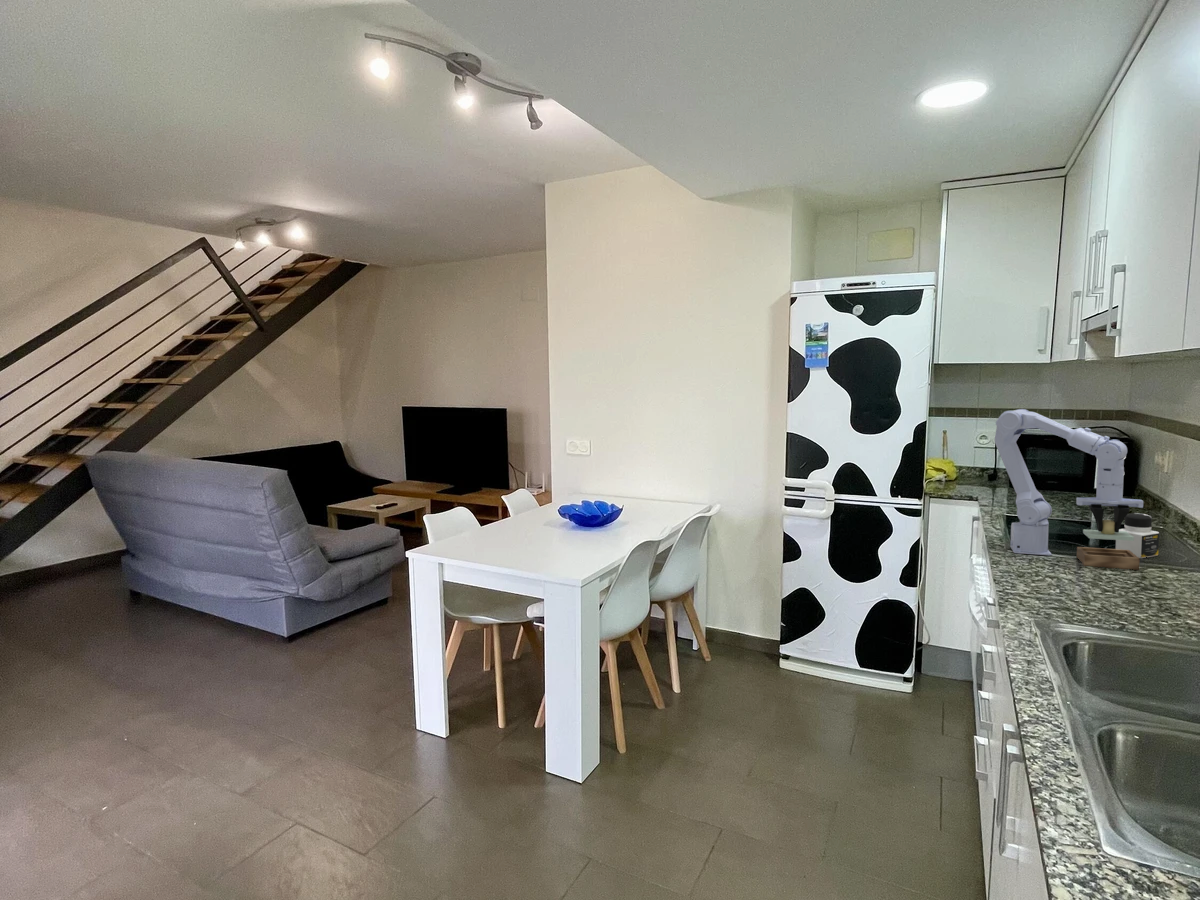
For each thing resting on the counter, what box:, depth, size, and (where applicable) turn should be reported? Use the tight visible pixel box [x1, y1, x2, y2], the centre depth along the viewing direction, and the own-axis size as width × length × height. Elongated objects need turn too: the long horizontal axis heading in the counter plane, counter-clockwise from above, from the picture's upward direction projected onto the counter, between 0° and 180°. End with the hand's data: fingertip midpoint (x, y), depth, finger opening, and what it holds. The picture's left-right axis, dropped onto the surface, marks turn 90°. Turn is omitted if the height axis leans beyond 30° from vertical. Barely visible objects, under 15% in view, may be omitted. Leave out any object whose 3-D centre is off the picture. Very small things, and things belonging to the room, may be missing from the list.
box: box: [1076, 546, 1141, 571], centre depth 176 cm, size 12×9×3 cm
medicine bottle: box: [1115, 512, 1160, 559], centre depth 183 cm, size 7×7×12 cm
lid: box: [1082, 519, 1134, 541], centre depth 175 cm, size 10×7×4 cm
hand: (1107, 531), depth 175 cm, fingers closed on lid, 3 cm apart
